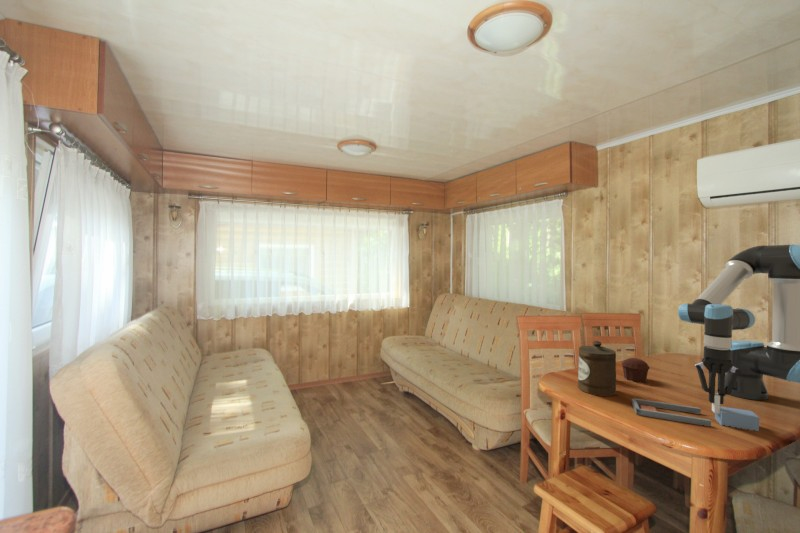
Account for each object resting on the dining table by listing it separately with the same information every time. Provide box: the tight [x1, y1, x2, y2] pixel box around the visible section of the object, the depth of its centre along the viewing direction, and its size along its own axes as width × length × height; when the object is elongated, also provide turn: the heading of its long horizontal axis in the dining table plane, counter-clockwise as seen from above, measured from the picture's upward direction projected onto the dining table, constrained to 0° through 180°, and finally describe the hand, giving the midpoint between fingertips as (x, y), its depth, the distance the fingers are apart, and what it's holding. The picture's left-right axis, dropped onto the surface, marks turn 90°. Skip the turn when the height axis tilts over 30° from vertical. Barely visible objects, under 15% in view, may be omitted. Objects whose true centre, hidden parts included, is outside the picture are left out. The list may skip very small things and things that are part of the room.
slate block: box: [714, 405, 760, 432], centre depth 127 cm, size 10×6×5 cm, turn 65°
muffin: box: [621, 357, 650, 383], centre depth 175 cm, size 12×11×10 cm
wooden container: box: [577, 340, 617, 397], centre depth 160 cm, size 15×15×22 cm
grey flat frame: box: [631, 397, 712, 427], centre depth 136 cm, size 22×12×2 cm, turn 65°
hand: (715, 411), depth 130 cm, fingers closed
